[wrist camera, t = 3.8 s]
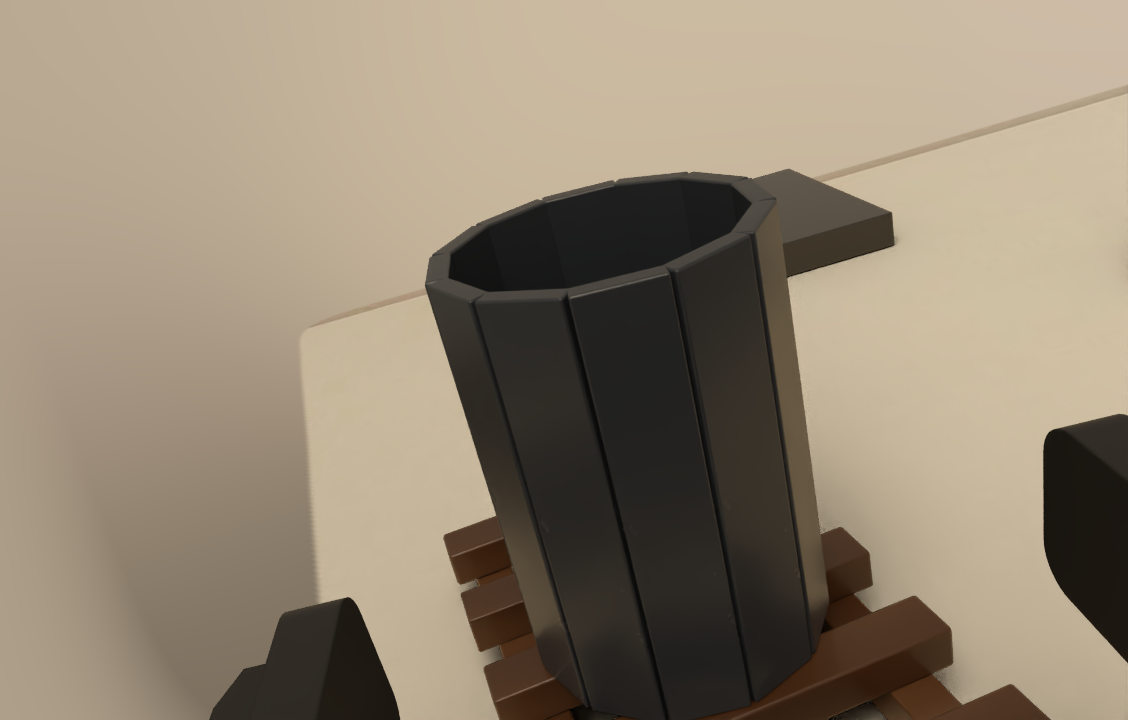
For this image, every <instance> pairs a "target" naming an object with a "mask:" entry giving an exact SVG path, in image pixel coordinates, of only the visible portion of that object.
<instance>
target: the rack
mask: <svg viewBox="0 0 1128 720" xmlns="http://www.w3.org/2000/svg"><path fill="white" fill-rule="evenodd" d="M443 539H444V542H445V545H446V549H447V552H448V555H449V558H450V561H451V564H452V567H453V570H454V573H455V576H456V579H457V582H458V583H459V584H465V583H467V582H470V581H473V580H475V579H476V580H477V583H478V585H479V586H478V587H476V588H473V589H470V590H468V591H465V592H462V593H461V598H462V601H463V604H464V608H465V611H466V614H467V618H468V621H469V624H470V627H471V630H472V632H473V635H474V638H475V641H476V644H477V647H478V650H479V651H480V652H482V651H485V650H487V649H490V648H492V647H495V646H498V645H499V647H500V650H501V653H502V656H503V659H502V660H499V661H497V662H494V663H491V664H489V665H486V666H485V667H484V673H485V676H486V680H487V683H488V686H489V689H490V693H491V696H492V699H493V702H494V705H495V708H496V711H497V714H498V717H499V720H574V717H573V715H572V712H571V710H570V709H572V708H574V707H577V706H579V705H581V704H583V703H582V702H581V701H579V700H578V699H577V698H576V697H575V696H574V695H573V694H572V693H571V692H570V691H569V690H568V689H567V688H565V687H564V686H563V685H562V684H561V683H560V682H559V681H558V680H557V679H556V678H555V677H554V676H552V675H551V674H550V673H549V672H548V671H547V670H546V669H545V666H544V664H543V663H542V660H541V657H540V654H539V650H538V647H537V644H536V641H535V638H534V634H533V631H532V628H531V625H530V621H529V618H528V615H527V612H526V609H525V605H524V602H523V599H522V596H521V593H520V589H519V586H518V583H517V580H516V577H515V573H514V572H513V569H512V567H511V566H512V564H511V560H510V557H509V554H508V551H507V548H506V544H505V541H504V538H503V535H502V532H501V528H500V525H499V522H498V519H497V516H494V517H492V518H489V519H486V520H483V521H481V522H478V523H475V524H472V525H470V526H467V527H464V528H461V529H459V530H456V531H453V532H450V533H448V534H445V535H444V538H443ZM821 541H822V549H823V556H824V564H825V572H826V579H827V587H828V595H829V604H828V608H827V611H826V615H825V619H824V623H823V626H822V630H821V634H820V637H819V641H818V645H817V648H816V652H815V653H814V654H812V658H811V659H810V660H809V661H808V662H806V663H805V664H804V665H803V666H802V667H800V668H799V669H798V670H797V671H795V672H794V673H793V674H792V675H791V676H789V677H788V678H787V679H786V680H784V681H783V682H782V683H781V684H780V685H778V686H777V687H776V688H775V689H773V690H772V691H771V692H770V693H769V694H767V695H766V696H765V697H764V698H762V699H761V700H760V701H759V702H754V701H753V700H752V699H751V705H750V706H748V707H744V708H740V709H736V710H731V711H727V712H723V713H719V714H715V715H710V716H706V717H702V718H698V719H693V720H826V719H828V718H830V717H833V716H835V715H837V714H840V713H842V712H844V711H847V710H849V709H851V708H853V707H856V706H858V705H860V704H863V703H865V702H867V701H870V700H871V701H872V702H873V703H874V704H875V705H876V707H877V708H878V709H879V710H880V711H881V712H882V714H883V715H884V716H885V717H886V718H887V720H1051V719H1049V718H1048V717H1047V716H1046V715H1045V714H1044V713H1043V712H1042V711H1041V710H1040V709H1039V708H1038V707H1036V706H1035V705H1034V704H1033V703H1032V702H1031V701H1030V700H1029V699H1028V698H1027V697H1026V696H1025V695H1023V694H1022V693H1021V692H1020V691H1019V690H1018V689H1017V688H1016V687H1015V686H1014V685H1012V684H1009V685H1007V686H1005V687H1002V688H1000V689H998V690H996V691H993V692H991V693H989V694H987V695H984V696H982V697H980V698H977V699H975V700H973V701H971V702H968V703H966V704H964V705H962V704H961V703H960V702H959V701H958V700H957V699H956V698H955V697H954V696H953V695H952V694H951V693H950V692H949V691H948V690H947V689H946V688H945V687H944V686H943V685H942V684H941V683H940V682H939V681H938V680H937V679H936V678H935V677H934V676H933V675H932V673H934V672H937V671H939V670H941V669H944V668H946V667H948V666H951V665H952V664H953V647H952V631H951V628H950V627H949V626H948V625H947V624H946V623H945V622H944V621H943V620H942V619H940V618H939V617H938V616H937V615H936V614H935V613H934V612H933V611H932V610H931V609H930V608H929V607H927V606H926V605H925V604H924V603H923V602H922V601H921V600H920V599H919V598H918V597H917V596H911V597H909V598H906V599H904V600H902V601H899V602H897V603H894V604H892V605H889V606H887V607H885V608H882V609H880V610H877V611H875V612H873V613H872V612H871V611H870V610H869V609H868V608H867V607H866V606H865V605H864V604H863V603H862V602H861V601H860V600H859V599H858V598H857V597H856V596H855V595H854V593H856V592H859V591H861V590H864V589H866V588H869V587H871V586H872V585H873V582H872V572H871V563H870V554H869V552H868V551H867V550H866V549H865V548H864V547H863V546H862V545H861V544H860V543H858V542H857V541H856V540H855V539H854V538H853V537H852V536H851V535H850V534H849V533H848V532H847V531H845V530H844V529H843V528H842V527H838V528H836V529H833V530H831V531H828V532H826V533H823V534H821ZM614 720H639V719H633V718H628V717H623V716H621V717H618V718H616V719H614ZM668 720H670V719H669V718H668Z"/></svg>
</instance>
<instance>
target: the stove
mask: <svg viewBox="0 0 1128 720" xmlns="http://www.w3.org/2000/svg"><path fill="white" fill-rule="evenodd" d="M753 180H755V181H756V182H757V183H758V184H760V185H761V186H762V187H763V188H765V189H766V190H767V191H768V192H770V193H771V194H772V195H773V196H775V197H776V199H777V205H778V213H779V220H780V228H781V236H782V243H783V251H784V259H785V266H786V274H787V276H791V275H794V274H797V273H801V272H804V271H808V270H811V269H814V268H818V267H821V266H824V265H828V264H831V263H835V262H838V261H841V260H845V259H848V258H852V257H855V256H858V255H862V254H865V253H868V252H872V251H875V250H879V249H882V248H885V247H889V246H892V245H894V232H893V219H892V212H890V211H887V210H885V209H883V208H880V207H878V206H876V205H873V204H871V203H868V202H866V201H864V200H861V199H859V198H857V197H854V196H852V195H850V194H847V193H845V192H843V191H840V190H838V189H835V188H833V187H831V186H828V185H826V184H824V183H821V182H819V181H817V180H814V179H812V178H810V177H807V176H805V175H802V174H800V173H798V172H795V171H793V170H791V169H786V170H782V171H779V172H775V173H772V174H769V175H765V176H761V177H758V178H754V179H753Z"/></svg>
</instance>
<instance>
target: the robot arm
mask: <svg viewBox="0 0 1128 720" xmlns="http://www.w3.org/2000/svg"><path fill="white" fill-rule="evenodd" d="M1043 490H1044V547H1045V553H1046V557H1047V560H1048V563H1049V566H1050V569H1051V571H1052V573H1053V575H1054V577H1055V579H1056V581H1057V583H1058V585H1059V586H1060V588H1061V589H1062V591H1063V592H1064V594H1065V595H1066V596H1067V597H1068V599H1069V600H1070V601H1071V602H1072V603H1073V604H1074V605H1075V606H1076V607H1077V608H1078V609H1079V611H1080V612H1081V613H1082V614H1083V615H1084V616H1085V617H1086V618H1087V619H1088V620H1089V621H1090V622H1091V624H1092V625H1093V626H1094V627H1095V628H1096V629H1097V630H1098V631H1099V632H1100V633H1101V634H1102V636H1103V637H1104V638H1105V639H1106V640H1107V641H1108V642H1109V643H1110V644H1111V645H1112V646H1113V648H1114V649H1115V650H1116V651H1117V652H1118V653H1119V654H1120V655H1121V656H1122V657H1123V658H1124V659H1125V661H1126V662H1127V663H1128V416H1127V415H1124V414H1116V415H1112V416H1108V417H1104V418H1100V419H1095V420H1091V421H1087V422H1083V423H1079V424H1075V425H1070V426H1066V427H1062V428H1058V429H1054V430H1052V431H1050V432H1049V433H1048V434H1047V436H1046V438H1045V442H1044V450H1043ZM209 720H400V716H399V711H398V706H397V702H396V699H395V696H394V693H393V691H392V688H391V686H390V683H389V681H388V678H387V676H386V673H385V671H384V669H383V666H382V664H381V661H380V659H379V656H378V654H377V652H376V649H375V647H374V644H373V642H372V639H371V637H370V634H369V632H368V630H367V627H366V625H365V622H364V620H363V617H362V615H361V613H360V610H359V608H358V606H357V605H356V603H355V602H354V601H353V600H352V599H351V598H349V597H347V598H343V599H339V600H334V601H330V602H326V603H322V604H318V605H314V606H309V607H305V608H301V609H297V610H293V611H289V612H285V613H284V614H282V616H281V618H280V619H279V622H278V625H277V628H276V631H275V635H274V638H273V641H272V645H271V648H270V651H269V654H268V658H267V661H266V664H263V665H259V666H255V667H250V668H246V669H244V670H243V671H242V672H241V674H240V675H239V676H238V677H237V679H236V680H235V681H234V683H233V684H232V685H231V686H230V688H229V689H228V690H227V692H226V693H225V694H224V696H223V697H222V698H221V699H220V701H219V702H218V703H217V705H216V706H215V707H214V708H213V711H212V714H211V716H210V719H209Z"/></svg>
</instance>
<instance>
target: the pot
mask: <svg viewBox="0 0 1128 720" xmlns="http://www.w3.org/2000/svg"><path fill="white" fill-rule="evenodd" d="M425 288H426V291H427V294H428V297H429V300H430V304H431V307H432V310H433V313H434V316H435V320H436V323H437V326H438V329H439V333H440V336H441V339H442V342H443V345H444V349H445V352H446V355H447V358H448V361H449V365H450V368H451V371H452V374H453V377H454V381H455V384H456V387H457V390H458V394H459V397H460V400H461V403H462V406H463V410H464V413H465V416H466V419H467V422H468V426H469V429H470V432H471V435H472V438H473V442H474V445H475V448H476V451H477V455H478V458H479V461H480V464H481V467H482V471H483V474H484V477H485V480H486V483H487V487H488V490H489V493H490V496H491V499H492V503H493V506H494V509H495V512H496V516H497V519H498V522H499V525H500V528H501V532H502V535H503V538H504V541H505V544H506V548H507V551H508V554H509V557H510V560H511V564H512V567H513V570H514V573H515V577H516V580H517V583H518V586H519V589H520V593H521V596H522V599H523V602H524V605H525V609H526V612H527V615H528V618H529V621H530V625H531V628H532V631H533V634H534V638H535V641H536V644H537V647H538V650H539V654H540V657H541V660H542V663H543V664H544V666H545V669H546V670H547V671H548V672H549V673H550V674H551V675H552V676H554V677H555V678H556V679H557V680H558V681H559V682H560V683H561V684H562V685H563V686H564V687H565V688H567V689H568V690H569V691H570V692H571V693H572V694H573V695H574V696H575V697H576V698H577V699H578V700H579V701H581V702H582V703H583V704H584V705H585V706H586V707H590V706H591V708H592V710H594V711H598V712H603V713H608V714H613V715H618V716H623V717H628V718H633V719H639V720H668V718H669V719H670V720H693V719H698V718H702V717H706V716H710V715H715V714H719V713H723V712H727V711H731V710H736V709H740V708H744V707H748V706H750V705H751V699H752V700H753V701H754V702H759V701H760V700H761V699H762V698H764V697H765V696H766V695H767V694H769V693H770V692H771V691H772V690H773V689H775V688H776V687H777V686H778V685H780V684H781V683H782V682H783V681H784V680H786V679H787V678H788V677H789V676H791V675H792V674H793V673H794V672H795V671H797V670H798V669H799V668H800V667H802V666H803V665H804V664H805V663H806V662H808V661H809V660H810V659H811V658H812V654H814V653H815V652H816V648H817V645H818V641H819V637H820V634H821V630H822V626H823V623H824V619H825V615H826V611H827V608H828V604H829V595H828V587H827V579H826V572H825V564H824V556H823V549H822V541H821V534H820V526H819V518H818V511H817V503H816V495H815V488H814V480H813V472H812V465H811V457H810V449H809V442H808V434H807V427H806V419H805V411H804V404H803V396H802V388H801V381H800V373H799V365H798V358H797V350H796V343H795V335H794V327H793V320H792V312H791V304H790V297H789V289H788V281H787V274H786V266H785V259H784V251H783V243H782V236H781V228H780V220H779V213H778V205H777V199H776V197H775V196H773V195H772V194H771V193H770V192H768V191H767V190H766V189H765V188H763V187H762V186H761V185H760V184H758V183H757V182H756V181H755V180H753V179H752V178H748V177H743V176H732V175H722V174H711V173H701V172H691V173H688V172H681V173H671V174H662V175H652V176H643V177H634V178H624V179H619V180H618V181H616V182H614V181H607V182H603V183H599V184H595V185H591V186H587V187H583V188H579V189H575V190H571V191H567V192H563V193H559V194H555V195H551V196H547V197H544V198H543V199H542V200H534V201H532V202H529V203H527V204H524V205H522V206H519V207H517V208H515V209H512V210H509V211H507V212H505V213H502V214H500V215H497V216H495V217H492V218H490V219H487V220H485V221H482V222H480V223H478V224H477V225H476V226H472V227H470V228H469V229H467V230H466V231H465V232H463V233H462V234H460V235H459V236H458V237H456V238H455V239H454V240H452V241H451V242H449V243H448V244H447V245H445V246H444V247H442V248H441V249H440V250H438V251H437V252H435V253H434V254H433V255H432V257H430V259H429V264H428V270H427V276H426V282H425Z"/></svg>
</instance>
